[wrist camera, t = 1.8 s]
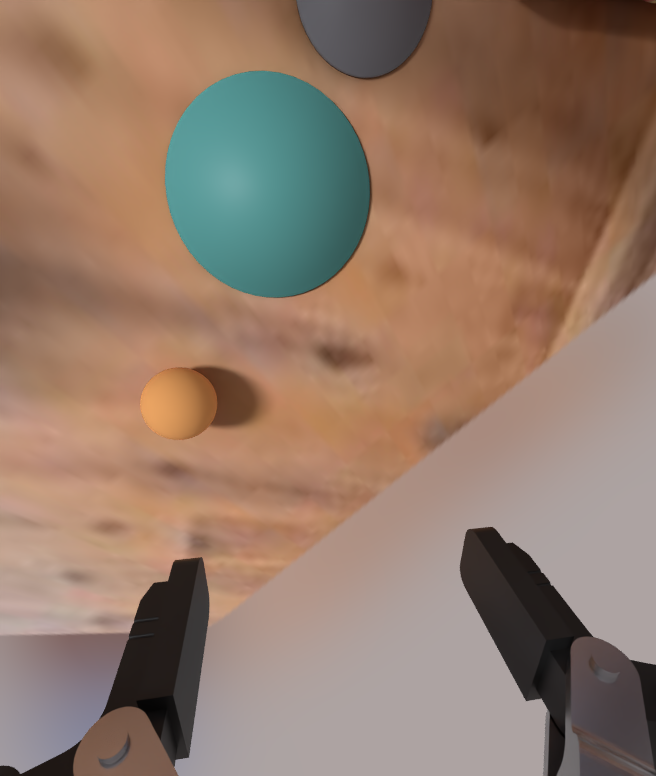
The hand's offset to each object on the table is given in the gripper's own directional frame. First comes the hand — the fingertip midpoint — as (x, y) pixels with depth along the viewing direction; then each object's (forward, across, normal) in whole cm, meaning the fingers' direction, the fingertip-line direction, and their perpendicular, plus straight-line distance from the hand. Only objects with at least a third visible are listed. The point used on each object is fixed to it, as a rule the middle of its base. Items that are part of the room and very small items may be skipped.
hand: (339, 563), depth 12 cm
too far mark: (+20, -5, -21) cm, 30 cm away
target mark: (+20, +1, -11) cm, 23 cm away
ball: (+17, +8, +2) cm, 19 cm away
